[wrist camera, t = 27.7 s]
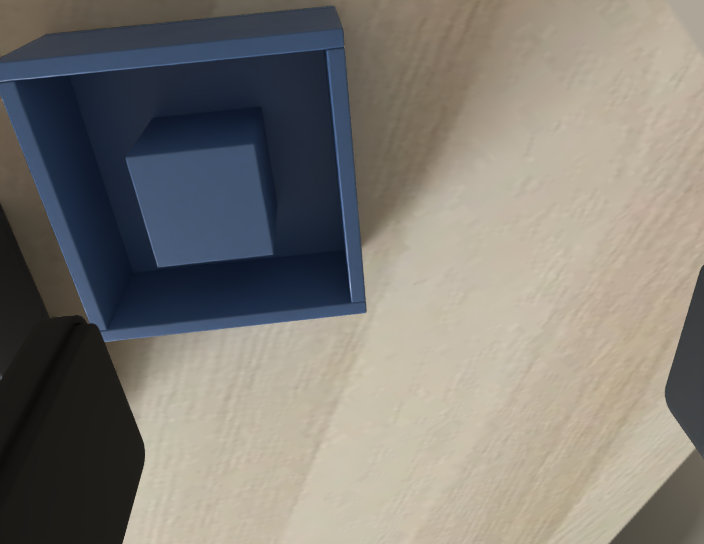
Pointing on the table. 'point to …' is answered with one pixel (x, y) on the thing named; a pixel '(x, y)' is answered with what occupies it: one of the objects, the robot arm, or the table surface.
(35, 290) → the charcoal bin
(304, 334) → the table surface
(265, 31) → the blue bin
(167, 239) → the blue block
